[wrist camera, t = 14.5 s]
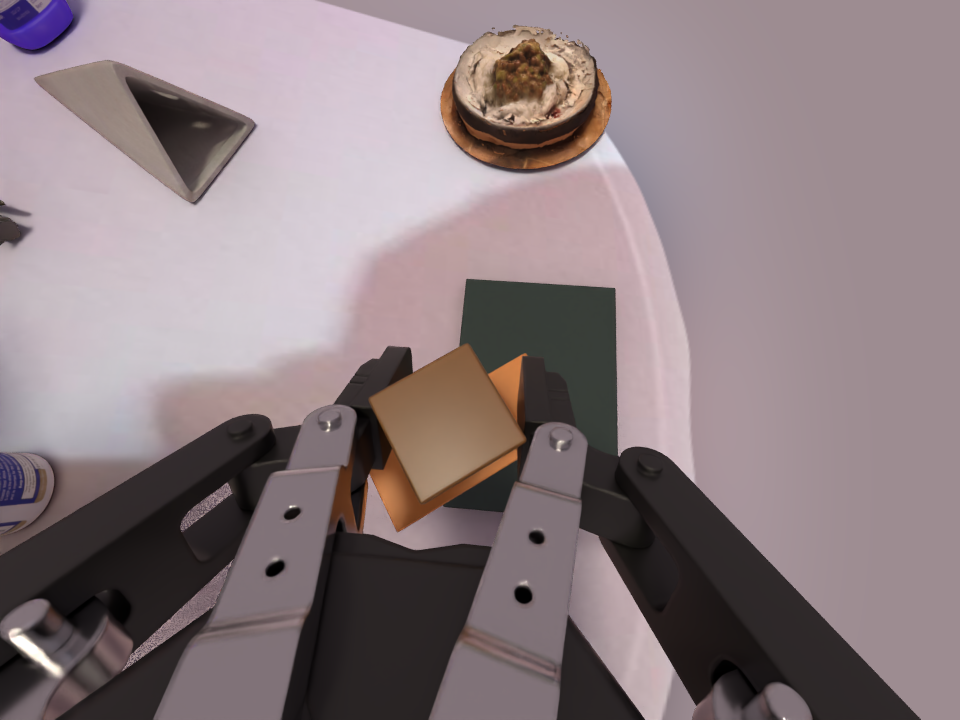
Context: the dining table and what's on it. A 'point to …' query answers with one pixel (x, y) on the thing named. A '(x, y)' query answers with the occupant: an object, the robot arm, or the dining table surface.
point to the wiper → (445, 432)
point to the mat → (546, 357)
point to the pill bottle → (23, 489)
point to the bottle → (33, 21)
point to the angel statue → (7, 228)
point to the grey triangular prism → (152, 122)
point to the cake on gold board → (525, 99)
